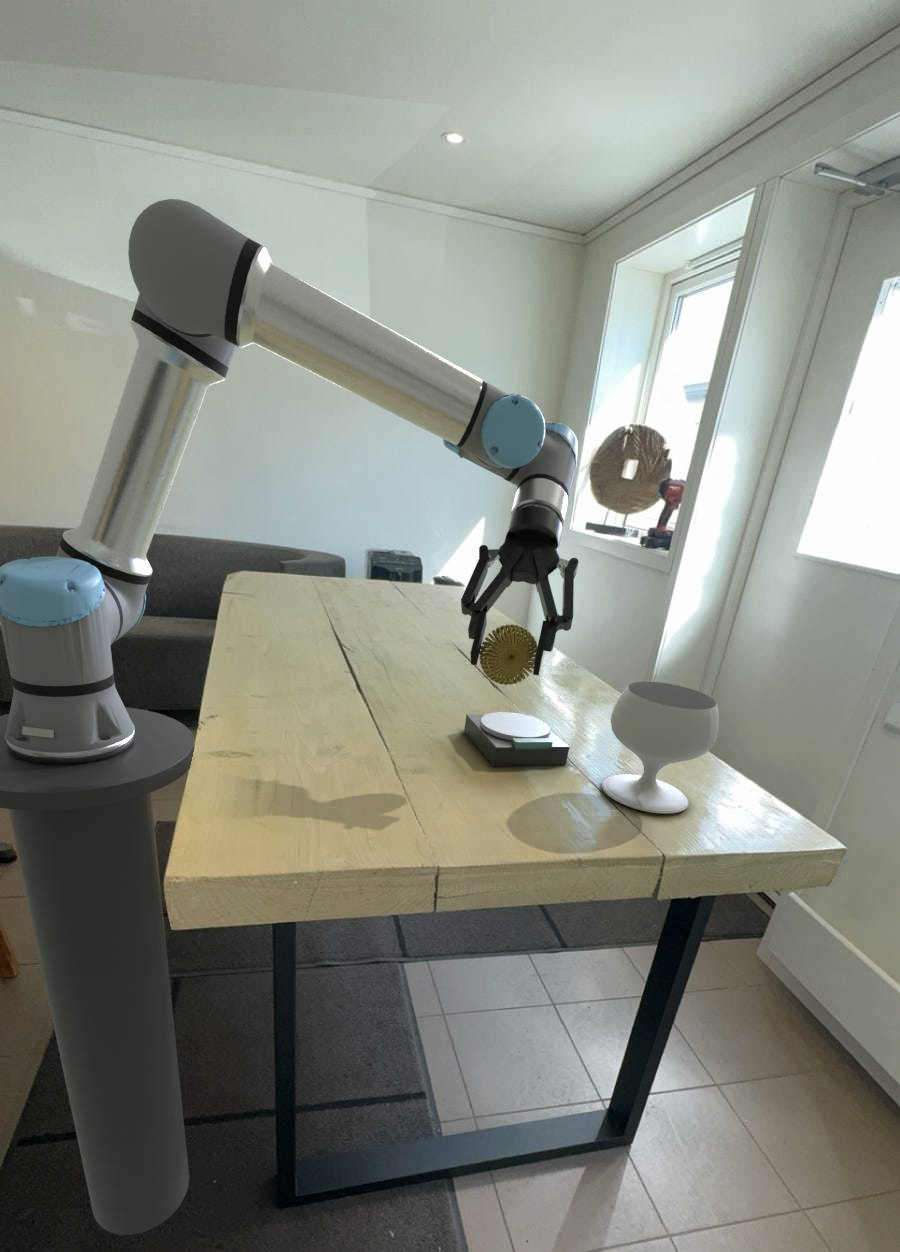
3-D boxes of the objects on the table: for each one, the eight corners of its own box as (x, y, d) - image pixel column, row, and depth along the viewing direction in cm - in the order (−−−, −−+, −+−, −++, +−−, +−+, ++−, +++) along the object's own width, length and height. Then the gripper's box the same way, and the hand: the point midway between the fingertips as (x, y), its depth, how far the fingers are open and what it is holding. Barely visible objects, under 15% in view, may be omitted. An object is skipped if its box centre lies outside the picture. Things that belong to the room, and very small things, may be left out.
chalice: (715, 808, 93) (748, 707, 86) (649, 827, 85) (680, 717, 78) (639, 769, 103) (664, 675, 96) (574, 783, 95) (596, 682, 88)
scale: (463, 731, 109) (466, 709, 107) (530, 731, 113) (533, 710, 111) (493, 766, 97) (497, 742, 95) (566, 764, 101) (570, 741, 99)
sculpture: (479, 687, 87) (488, 626, 83) (472, 678, 90) (480, 619, 87) (536, 690, 89) (547, 630, 85) (527, 681, 92) (537, 623, 88)
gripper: (605, 552, 94) (580, 691, 87) (465, 532, 97) (430, 666, 90) (614, 513, 87) (588, 661, 80) (463, 493, 90) (425, 635, 83)
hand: (504, 664), depth 85 cm, fingers closed on sculpture, 7 cm apart
